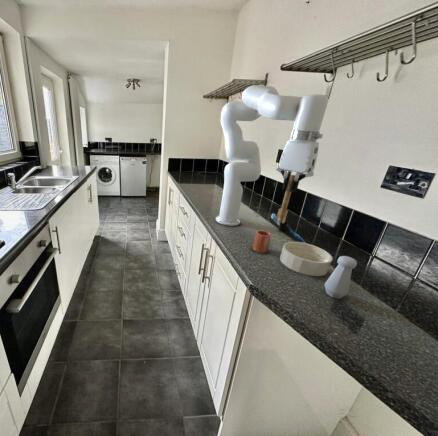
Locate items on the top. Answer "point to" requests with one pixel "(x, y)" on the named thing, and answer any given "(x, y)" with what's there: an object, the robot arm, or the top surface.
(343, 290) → the salt shaker
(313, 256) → the bowl
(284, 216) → the wooden spoon
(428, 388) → the top surface
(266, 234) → the pot
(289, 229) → the knife
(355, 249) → the top surface
